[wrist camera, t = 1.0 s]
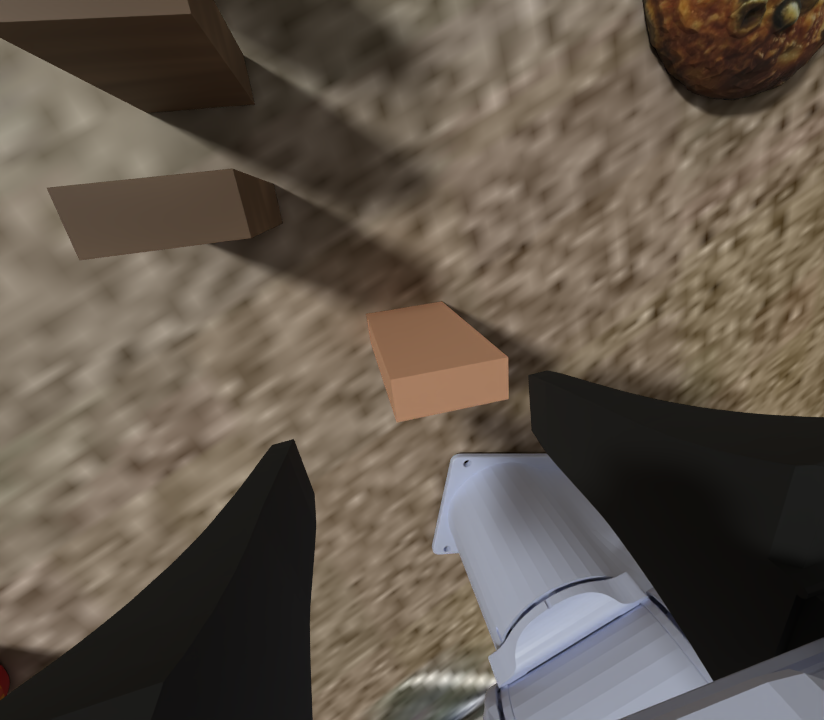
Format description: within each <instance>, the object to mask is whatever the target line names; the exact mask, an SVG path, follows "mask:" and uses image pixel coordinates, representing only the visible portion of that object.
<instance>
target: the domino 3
mask: <svg viewBox="0 0 824 720" xmlns="http://www.w3.org/2000/svg"><path fill="white" fill-rule="evenodd" d="M366 316H367V322H368V328H369V334H370V340H371V345H372V348H373V351H374V354H375V357H376V360H377V363H378V366H379V369H380V372H381V375H382V378H383V381H384V384H385V388H386V391H387V394H388V397H389V400H390V403H391V406H392V409H393V412H394V415H395V418H396V421H397V422H401V421H406V420H411V419H416V418H420V417H425V416H430V415H435V414H439V413H444V412H449V411H454V410H458V409H463V408H468V407H473V406H477V405H482V404H487V403H492V402H497V401H501V400H506V399H509V389H508V357H507V356H506V355H505V354H504V353H503V352H501V351H500V350H499V349H498V348H497V347H495V346H494V345H493V344H492V343H491V342H489V341H488V340H487V339H486V338H485V337H484V336H482V335H481V334H480V333H479V332H478V331H476V330H475V329H474V328H473V327H472V326H470V325H469V324H468V323H467V322H466V321H464V320H463V319H462V318H461V317H460V316H459V315H457V314H456V313H455V312H454V311H453V310H451V309H450V308H449V307H448V306H447V305H445V304H444V303H443V302H442V301H441V302H435V303H429V304H423V305H417V306H411V307H405V308H399V309H393V310H387V311H381V312H375V313H369V314H366Z"/></svg>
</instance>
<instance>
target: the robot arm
mask: <svg viewBox="0 0 824 720" xmlns="http://www.w3.org/2000/svg"><path fill="white" fill-rule="evenodd" d="M528 379H529V395H530V411H531V427H532V432H533V433H534V435H535V436H536V438H537V440H538V441H539V443H540V444H541V446H542V447H543V449H544V450H545V451H546V453H547V454H456V455H454V456H453V457H452V458H451V460H450V465H449V470H448V474H447V479H446V483H445V488H444V493H443V497H442V502H441V506H440V511H439V516H438V520H437V525H436V530H435V534H434V539H433V543H432V549H433V552H434V553H435V554H451V553H459V554H460V557H461V559H462V562H463V565H464V567H465V570H466V572H467V575H468V578H469V580H470V583H471V585H472V588H473V591H474V593H475V596H476V598H477V601H478V604H479V606H480V609H481V611H482V614H483V617H484V619H485V622H486V624H487V627H488V630H489V632H490V635H491V637H492V640H493V643H494V645H495V648H496V651H495V652H494V653H492V654H491V655H490V656H489V657H488V659H489V661H490V664H491V667H492V670H493V673H494V675H495V678H496V681H497V683H496V684H495V685H493V686H492V687H490V688H489V689H488V690H487V692H486V695H485V709H484V715H483V720H824V417H800V416H781V415H766V414H753V413H743V412H734V411H725V410H716V409H709V408H702V407H695V406H690V405H684V404H678V403H673V402H667V401H662V400H657V399H653V398H649V397H644V396H640V395H636V394H632V393H628V392H624V391H620V390H617V389H613V388H609V387H606V386H602V385H599V384H595V383H592V382H589V381H585V380H582V379H578V378H575V377H571V376H568V375H564V374H561V373H557V372H552V371H543V372H539V373H536V374H532V375H528ZM467 460H469V461H468V462H467V463H464V462H465V461H467ZM315 537H316V510H315V495H314V491H313V489H312V486H311V483H310V481H309V478H308V475H307V473H306V470H305V467H304V465H303V462H302V459H301V457H300V454H299V452H298V449H297V446H296V444H295V441H294V439H293V440H289V441H285V442H281V443H278V444H274V445H272V446H271V447H270V448H269V450H268V451H267V452H266V454H265V455H264V456H263V458H262V459H261V460H260V462H259V463H258V464H257V466H256V467H255V469H254V470H253V471H252V473H251V474H250V475H249V477H248V478H247V479H246V480H245V482H244V483H243V484H242V486H241V487H240V488H239V490H238V491H237V492H236V494H235V495H234V496H233V497H232V498H231V500H230V501H229V502H228V503H227V504H226V506H225V507H224V508H223V509H222V510H221V512H220V513H219V514H218V515H217V516H216V518H215V519H214V520H213V521H212V522H211V524H210V525H209V526H208V527H207V528H206V529H205V530H204V531H203V532H202V534H201V535H200V536H199V537H198V538H197V539H196V540H195V541H194V542H193V543H192V544H191V545H190V546H189V547H188V548H187V549H186V550H185V551H184V552H183V553H182V554H181V555H180V556H179V557H178V558H177V559H176V560H175V561H174V562H173V563H172V564H171V565H170V566H169V567H168V568H167V569H166V570H165V571H163V572H162V573H161V574H160V575H159V576H158V577H157V578H156V579H155V580H153V581H152V582H151V583H150V584H149V585H148V586H147V587H146V588H145V589H144V590H142V591H141V592H140V593H139V594H138V595H137V596H136V597H135V598H134V599H132V600H131V601H130V602H129V603H128V604H127V605H125V606H124V607H123V608H122V609H121V610H119V611H118V612H117V613H116V614H114V615H113V616H112V617H111V618H110V619H108V620H107V621H106V622H105V623H104V624H102V625H101V626H100V627H98V628H97V629H96V630H95V631H93V632H92V633H91V634H90V635H88V636H87V637H86V638H84V639H83V640H82V641H81V642H79V643H78V644H77V645H76V646H74V647H73V648H72V649H70V650H69V651H68V652H66V653H65V654H64V655H62V656H61V657H60V658H58V659H57V660H56V661H54V662H53V663H51V664H50V665H49V666H47V667H46V668H44V669H43V670H42V671H40V672H39V673H37V674H36V675H35V676H33V677H32V678H30V679H29V680H28V681H26V682H25V683H24V684H22V685H21V686H19V687H18V688H17V689H15V690H14V691H12V692H11V693H10V694H8V695H7V696H5V697H4V698H3V699H1V700H0V720H313V718H312V693H311V664H310V603H311V590H312V577H313V564H314V551H315ZM446 546H447V547H446Z"/></svg>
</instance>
